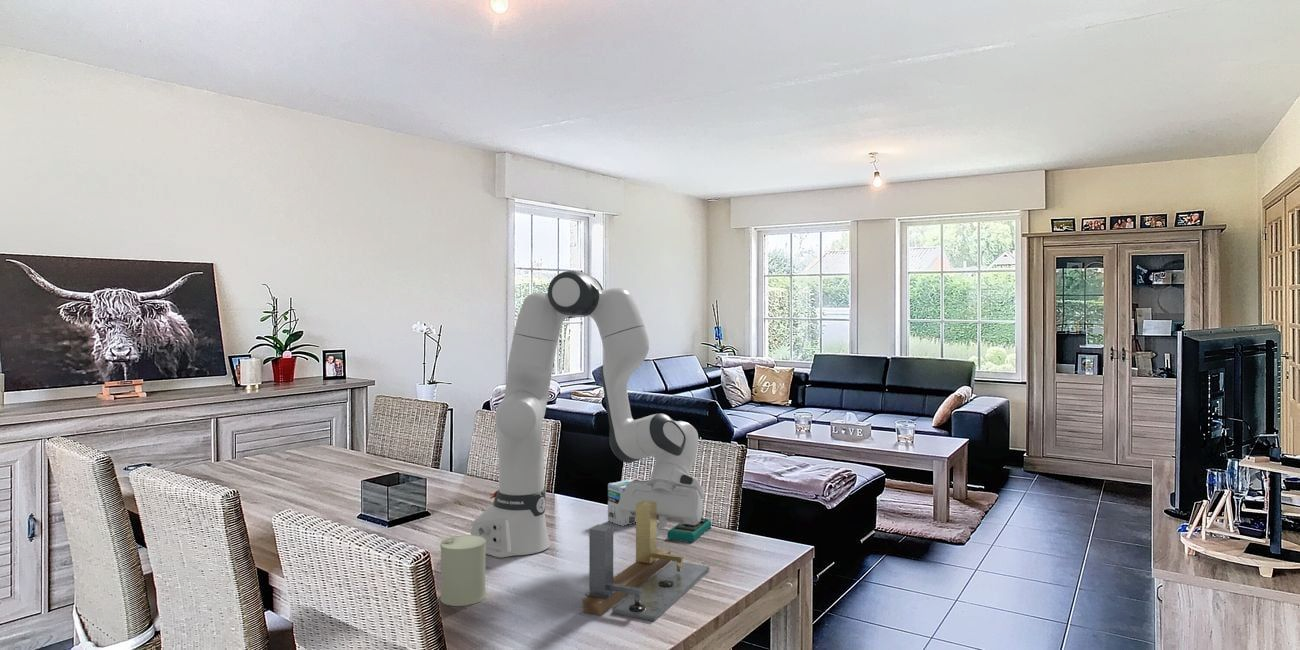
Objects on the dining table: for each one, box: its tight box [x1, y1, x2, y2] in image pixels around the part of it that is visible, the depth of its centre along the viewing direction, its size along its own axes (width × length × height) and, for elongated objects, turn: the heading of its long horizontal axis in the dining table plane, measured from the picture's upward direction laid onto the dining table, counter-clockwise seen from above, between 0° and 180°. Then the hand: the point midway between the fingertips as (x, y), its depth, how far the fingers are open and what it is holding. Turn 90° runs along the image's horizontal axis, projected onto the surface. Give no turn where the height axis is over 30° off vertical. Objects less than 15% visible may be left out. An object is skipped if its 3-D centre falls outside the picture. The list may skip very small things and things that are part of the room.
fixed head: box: [585, 523, 642, 606], centre depth 145 cm, size 11×4×14 cm, turn 65°
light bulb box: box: [607, 478, 644, 527], centre depth 207 cm, size 11×7×11 cm, turn 131°
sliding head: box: [635, 500, 684, 572], centre depth 164 cm, size 10×4×14 cm, turn 65°
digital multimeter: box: [667, 517, 712, 543], centre depth 195 cm, size 7×15×3 cm, turn 156°
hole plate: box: [611, 561, 710, 622], centre depth 155 cm, size 9×30×1 cm, turn 155°
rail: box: [582, 548, 671, 616], centre depth 158 cm, size 4×34×2 cm, turn 155°
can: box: [439, 534, 487, 607], centre depth 151 cm, size 9×9×12 cm
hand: (650, 535), depth 168 cm, fingers closed, pressing on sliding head
